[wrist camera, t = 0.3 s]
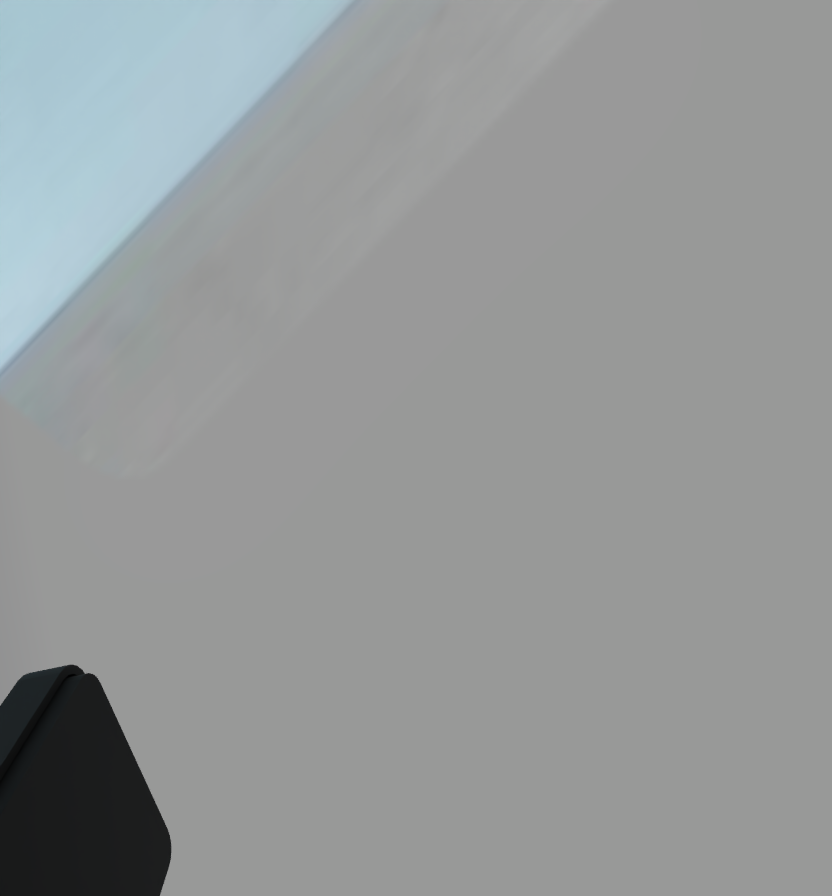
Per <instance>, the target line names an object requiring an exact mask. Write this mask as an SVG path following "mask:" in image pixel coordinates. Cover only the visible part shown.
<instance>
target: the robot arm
mask: <svg viewBox="0 0 832 896" xmlns="http://www.w3.org/2000/svg"><path fill="white" fill-rule="evenodd" d="M170 859H171V840H170V835H169V832H168V829H167V827H166V825H165V823H164V820H163V818H162V816H161V814H160V812H159V809H158V807H157V805H156V803H155V801H154V799H153V797H152V794H151V792H150V790H149V788H148V786H147V784H146V781H145V779H144V777H143V775H142V773H141V770H140V768H139V766H138V764H137V762H136V759H135V757H134V755H133V753H132V751H131V749H130V747H129V745H128V742H127V740H126V738H125V736H124V733H123V731H122V729H121V727H120V725H119V723H118V720H117V718H116V716H115V714H114V712H113V709H112V707H111V705H110V703H109V701H108V699H107V697H106V694H105V692H104V690H103V688H102V686H101V683H100V682H99V680H98V678H97V677H96V676H95V675H93V674H90V673H88V674H85V673H84V672H83V670H82V669H80V668H79V667H78V666H75V665H67V666H62V667H57V668H52V669H47V670H42V671H37V672H33V673H29V674H26V675H24V676H23V677H21V678H20V679H19V680H18V682H17V683H16V685H15V686H14V687H13V689H12V690H11V691H10V693H9V694H8V696H7V697H6V699H5V700H4V701H3V703H2V704H1V706H0V896H160V893H161V890H162V886H163V884H164V880H165V877H166V874H167V871H168V867H169V864H170Z"/></svg>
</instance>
